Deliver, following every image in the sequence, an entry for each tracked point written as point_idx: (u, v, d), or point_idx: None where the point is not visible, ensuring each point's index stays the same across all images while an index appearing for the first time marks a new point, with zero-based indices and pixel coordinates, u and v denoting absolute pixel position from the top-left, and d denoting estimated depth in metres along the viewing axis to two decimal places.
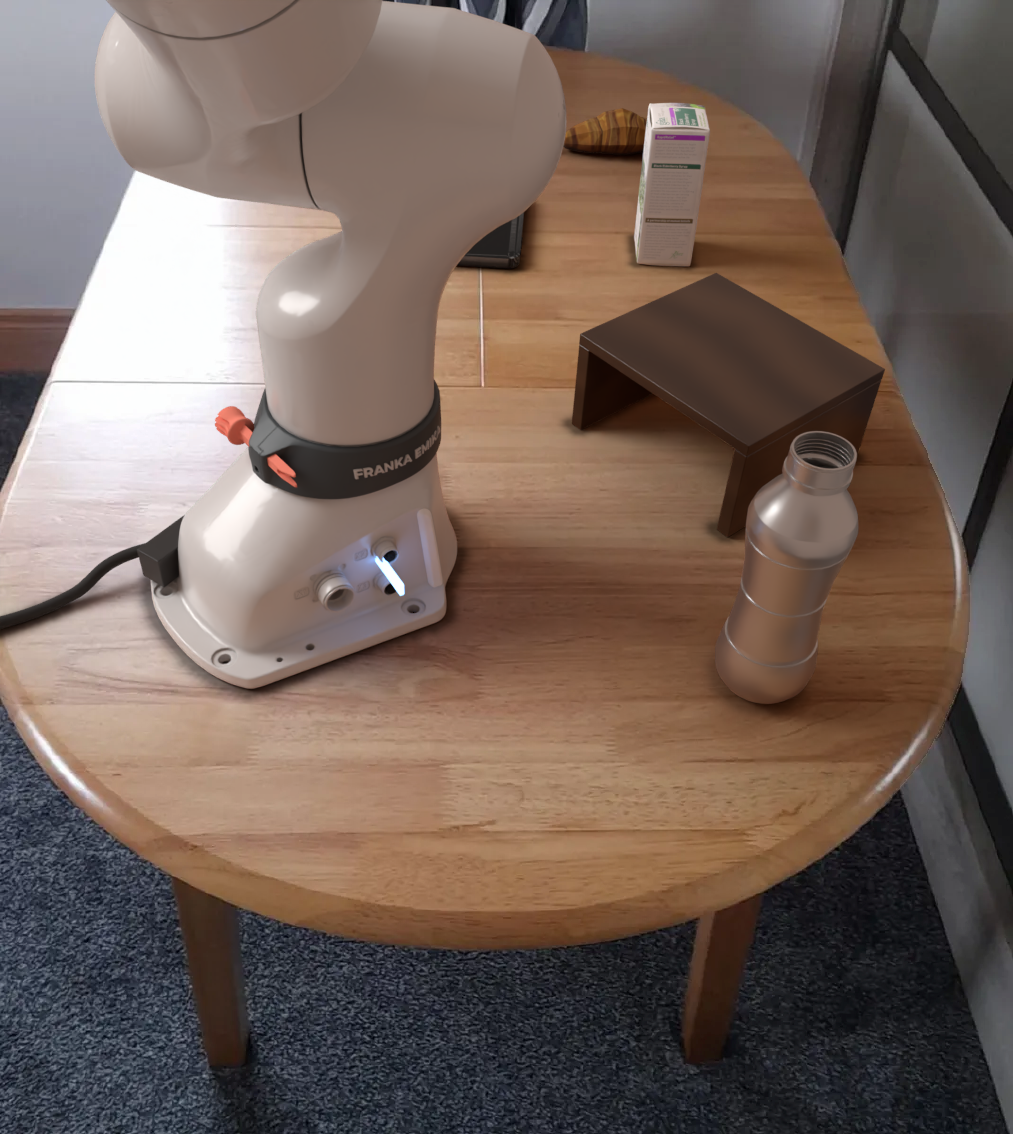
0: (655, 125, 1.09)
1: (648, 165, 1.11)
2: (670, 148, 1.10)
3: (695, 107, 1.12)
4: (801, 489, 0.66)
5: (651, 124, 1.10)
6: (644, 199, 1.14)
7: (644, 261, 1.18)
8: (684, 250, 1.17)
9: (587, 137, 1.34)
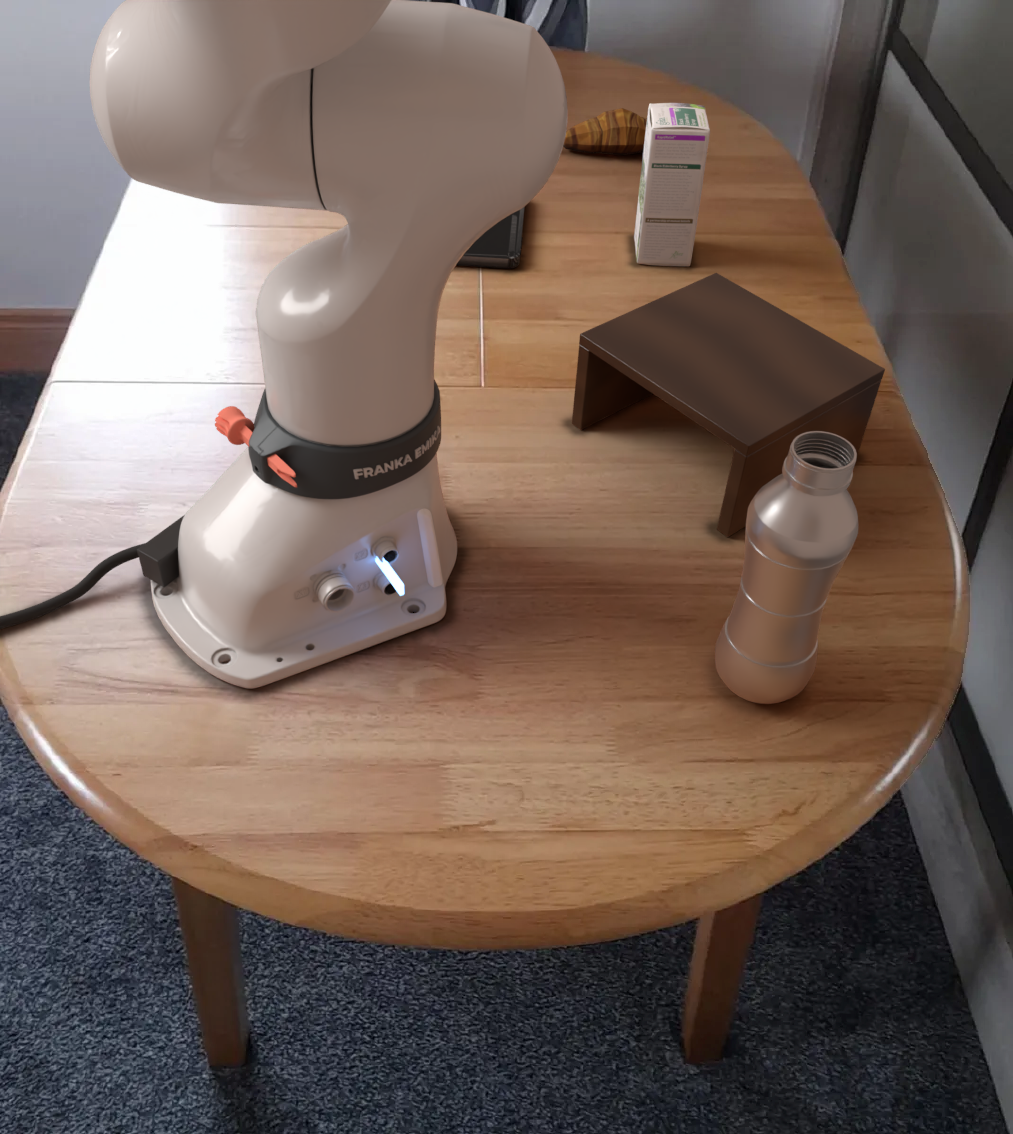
0: (655, 125, 1.09)
1: (648, 165, 1.11)
2: (670, 148, 1.10)
3: (696, 107, 1.12)
4: (801, 489, 0.66)
5: (651, 124, 1.10)
6: (644, 199, 1.14)
7: (644, 261, 1.18)
8: (684, 251, 1.17)
9: (587, 137, 1.34)
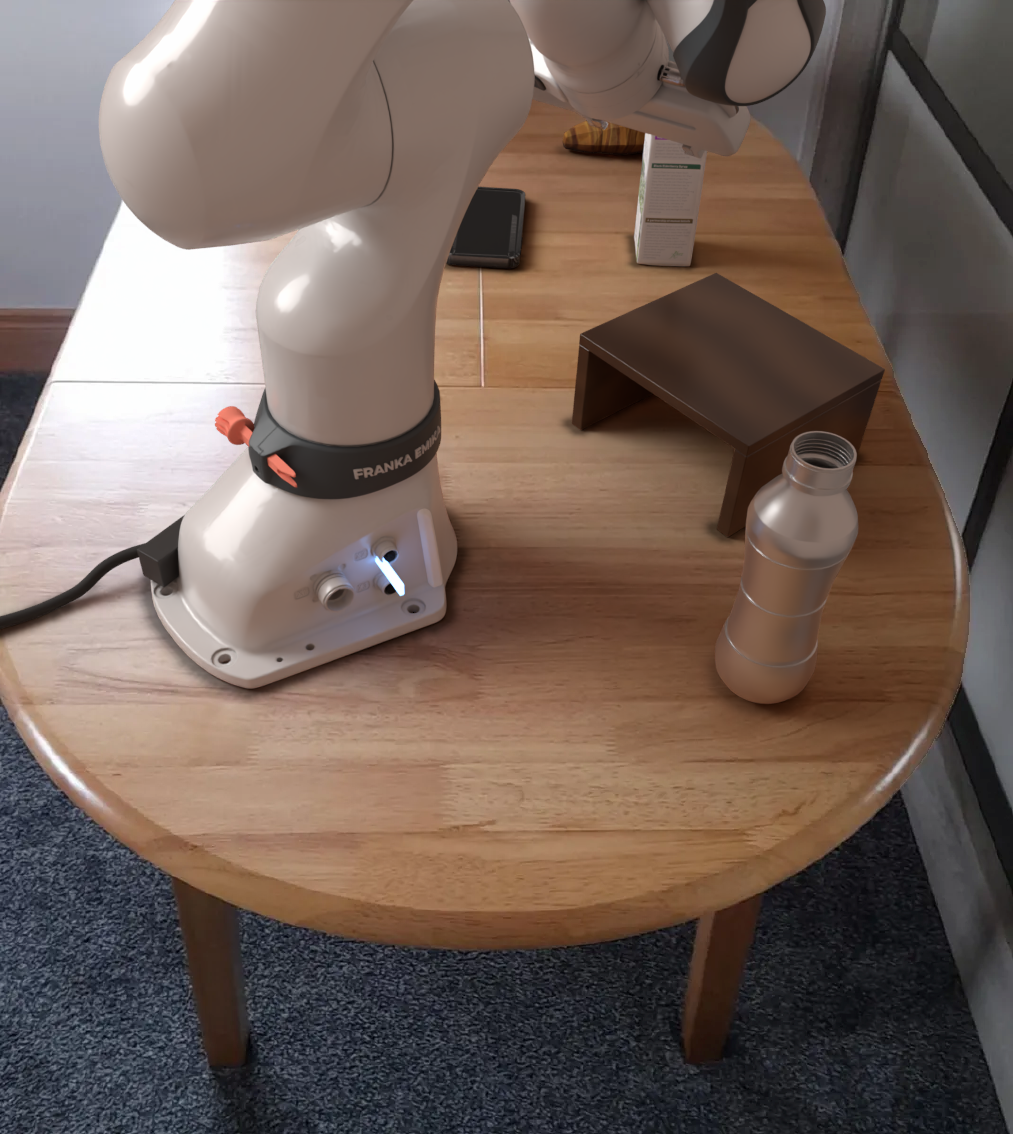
0: None
1: (648, 165, 1.11)
2: (670, 148, 1.10)
3: None
4: (801, 489, 0.66)
5: None
6: (644, 199, 1.14)
7: (644, 261, 1.18)
8: (684, 250, 1.17)
9: (587, 137, 1.34)
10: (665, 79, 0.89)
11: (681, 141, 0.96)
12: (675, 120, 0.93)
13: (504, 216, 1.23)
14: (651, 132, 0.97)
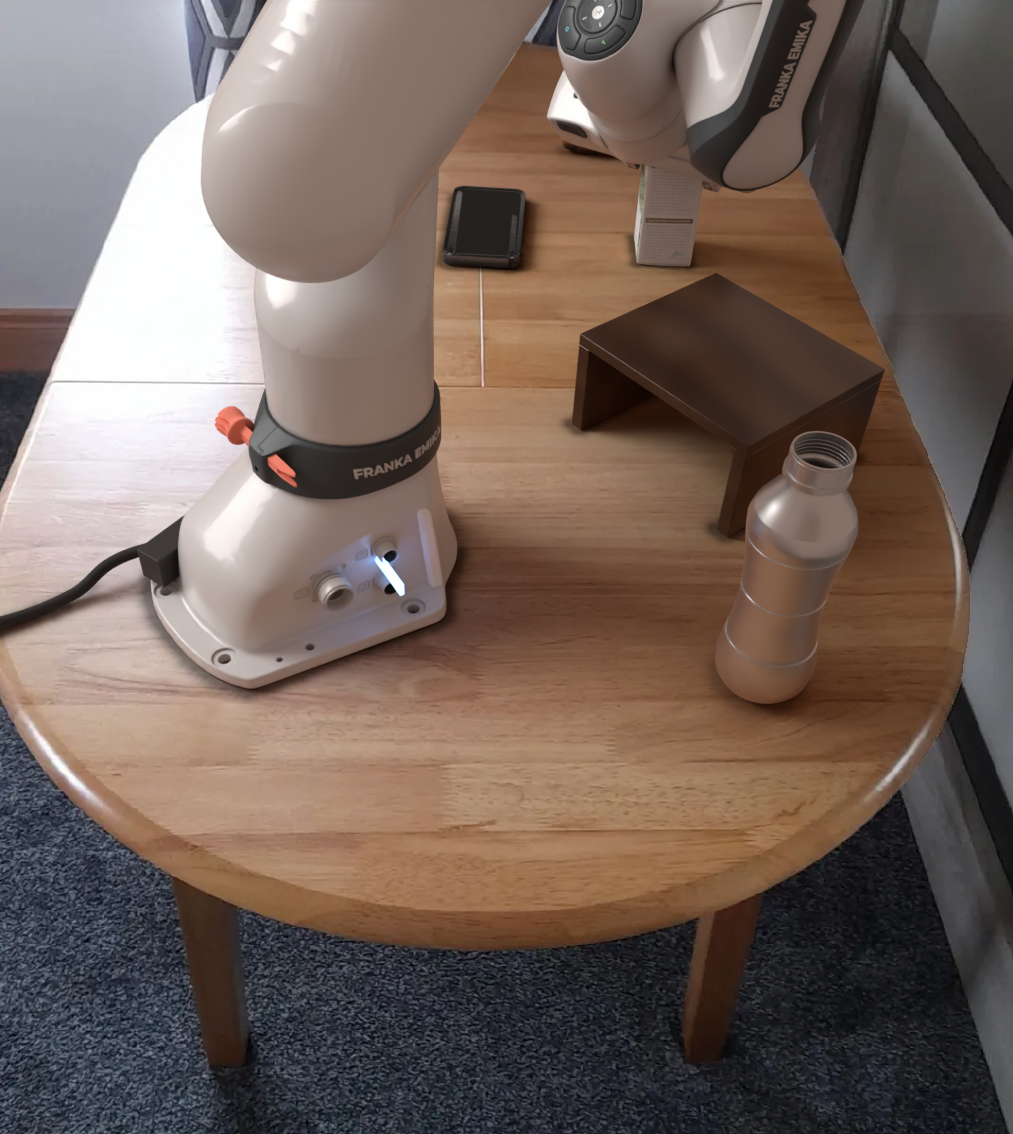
0: None
1: None
2: None
3: None
4: (801, 489, 0.66)
5: None
6: (644, 199, 1.14)
7: (644, 261, 1.18)
8: (685, 251, 1.17)
9: None
10: None
11: (706, 180, 1.08)
12: None
13: (504, 216, 1.23)
14: (679, 172, 1.09)
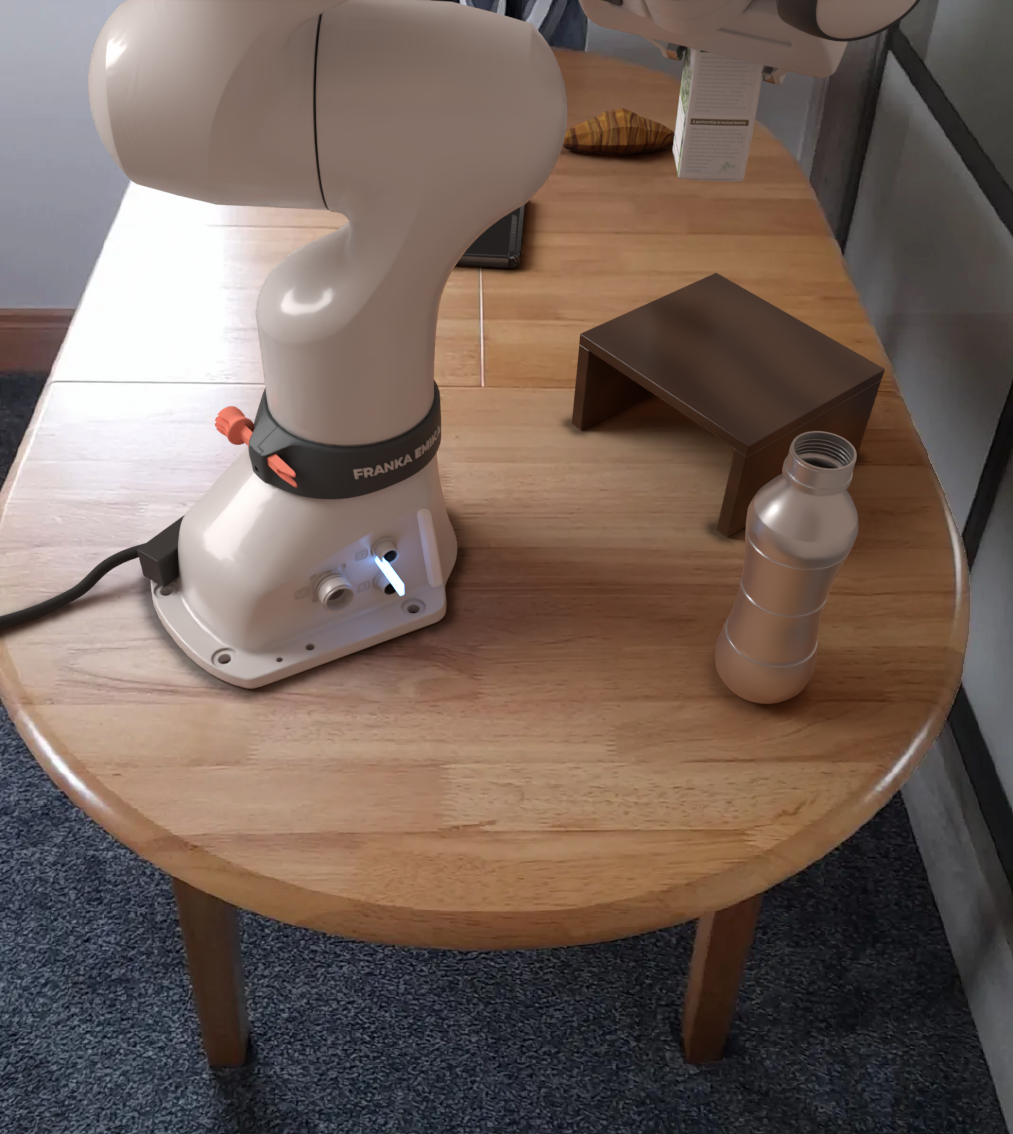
0: None
1: None
2: None
3: None
4: (801, 489, 0.66)
5: None
6: (690, 94, 0.92)
7: (687, 175, 0.96)
8: (737, 161, 0.95)
9: (587, 137, 1.34)
10: None
11: (770, 63, 0.86)
12: (768, 36, 0.83)
13: (504, 216, 1.23)
14: (735, 54, 0.87)
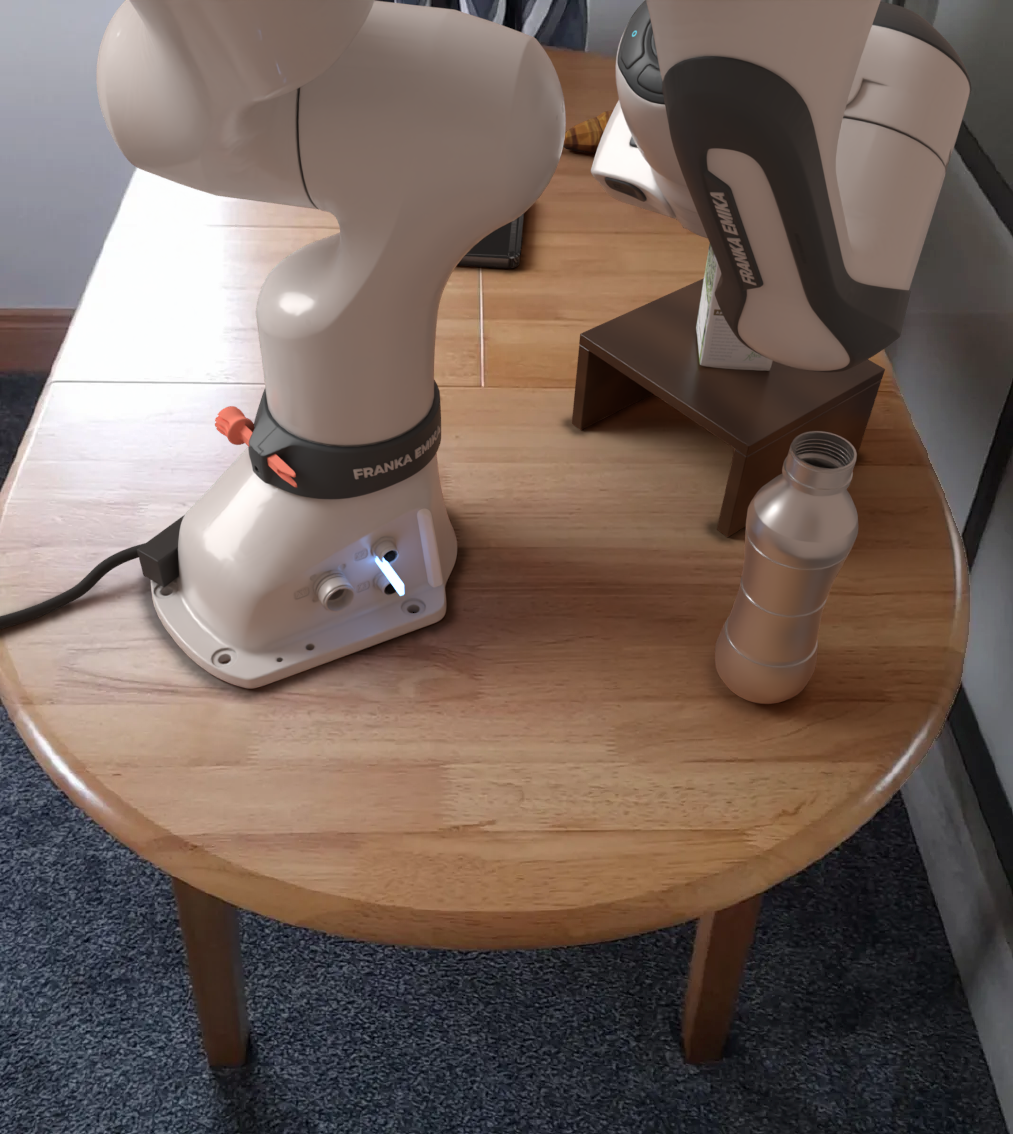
0: None
1: None
2: None
3: None
4: (801, 489, 0.66)
5: None
6: (713, 286, 0.85)
7: (709, 363, 0.90)
8: None
9: (587, 137, 1.34)
10: None
11: None
12: None
13: None
14: None
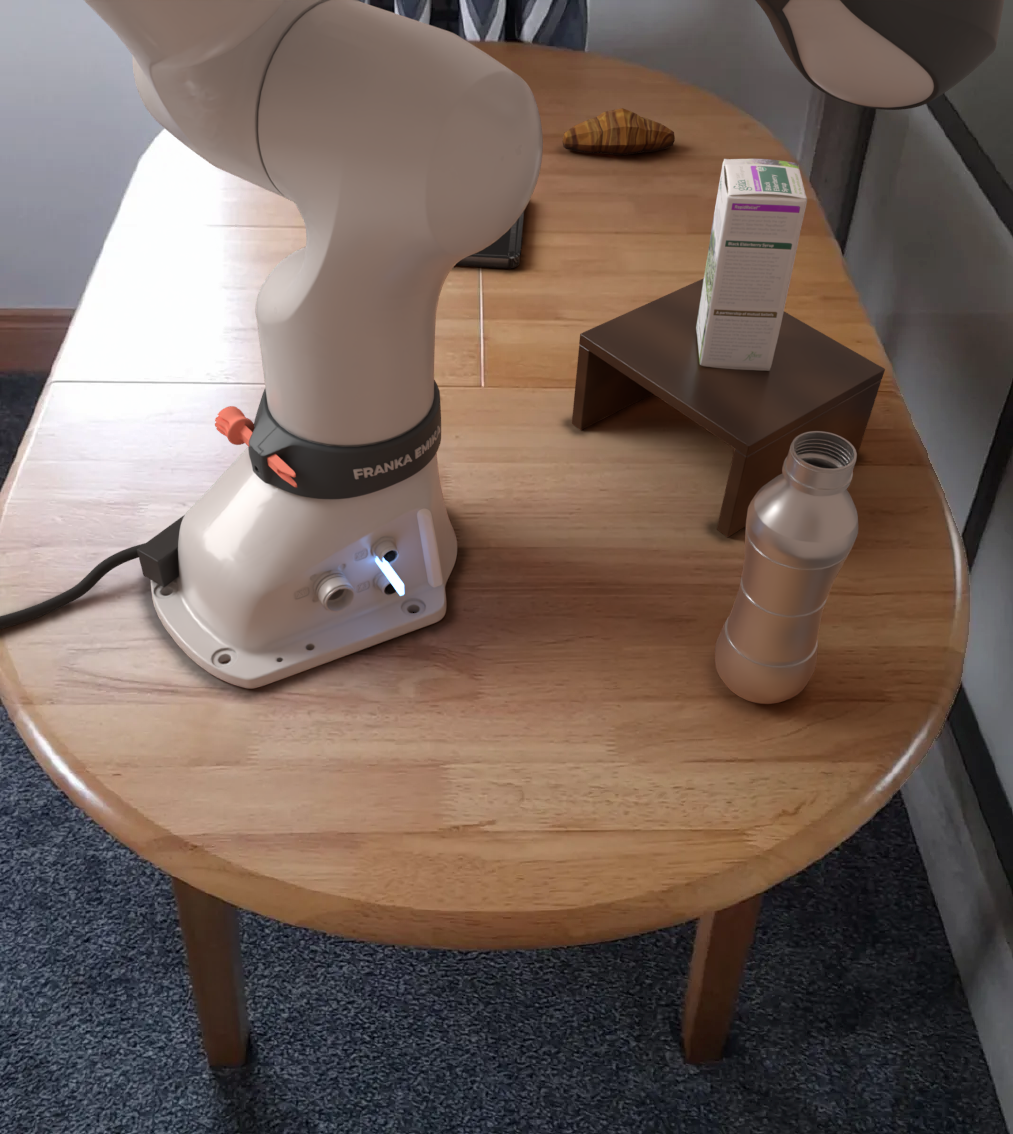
0: (732, 191, 0.81)
1: (721, 243, 0.83)
2: (752, 222, 0.81)
3: (786, 165, 0.83)
4: (801, 489, 0.66)
5: (727, 189, 0.81)
6: (713, 286, 0.85)
7: (709, 363, 0.90)
8: (764, 351, 0.89)
9: (587, 137, 1.34)
10: None
11: None
12: None
13: None
14: None
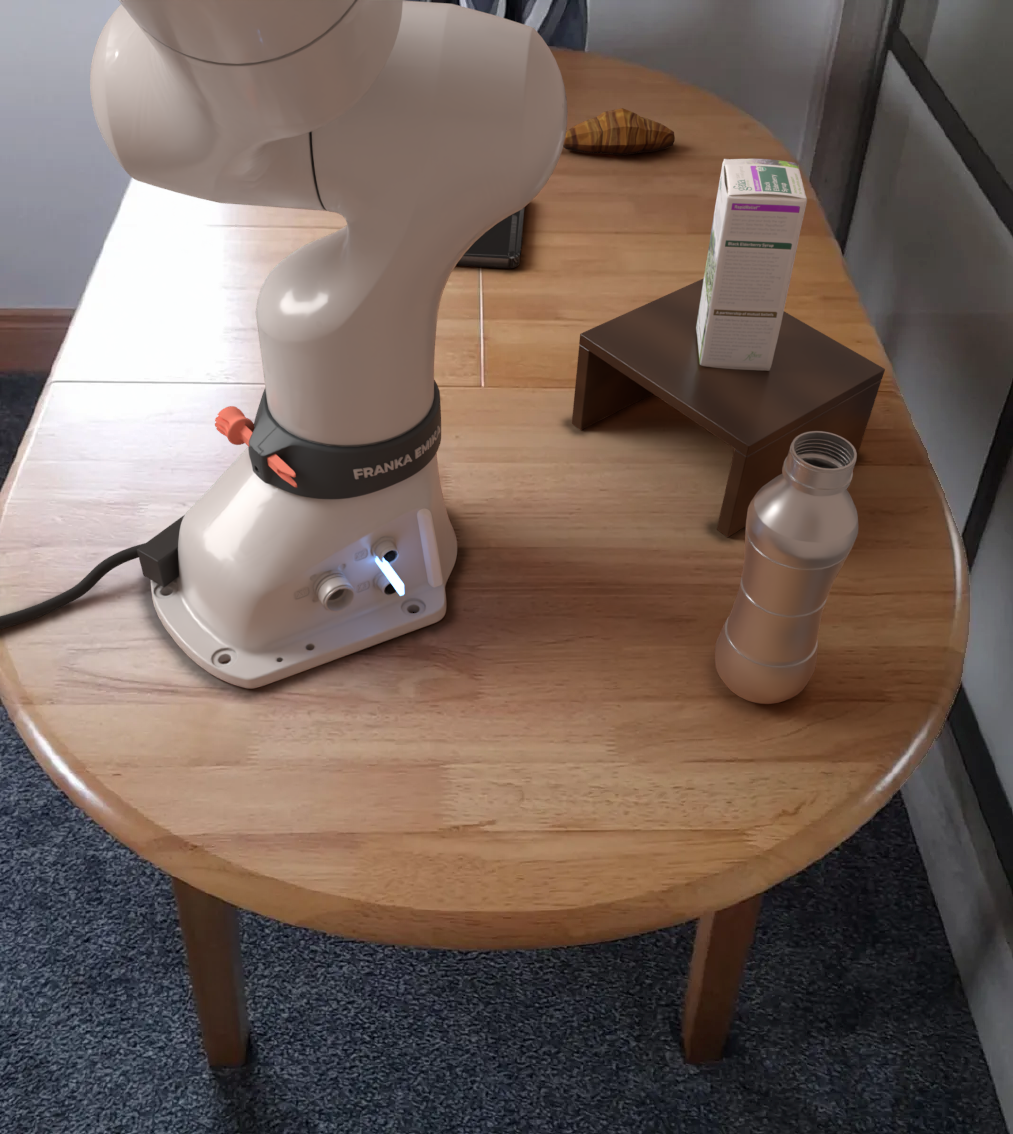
0: (732, 191, 0.81)
1: (721, 243, 0.83)
2: (752, 222, 0.81)
3: (786, 165, 0.83)
4: (801, 489, 0.66)
5: (727, 189, 0.81)
6: (713, 286, 0.85)
7: (709, 363, 0.90)
8: (764, 351, 0.89)
9: (587, 137, 1.34)
10: None
11: None
12: None
13: None
14: None
